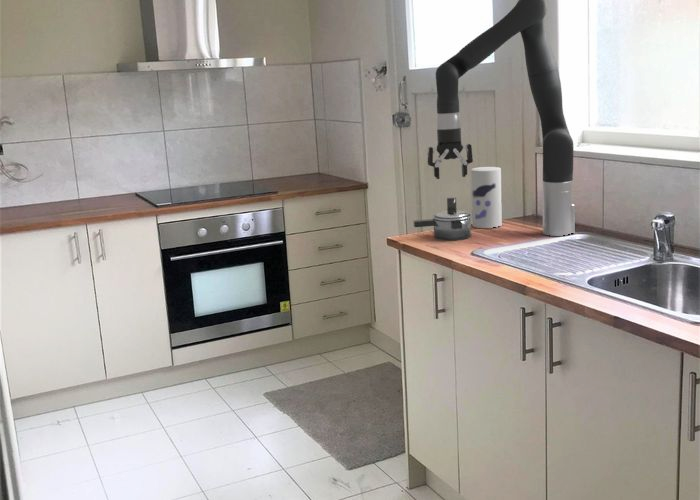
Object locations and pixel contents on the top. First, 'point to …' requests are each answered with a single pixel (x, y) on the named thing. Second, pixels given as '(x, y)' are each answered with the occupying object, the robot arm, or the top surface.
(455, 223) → the pot
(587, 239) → the top surface
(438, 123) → the robot arm
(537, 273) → the top surface
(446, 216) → the lid
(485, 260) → the top surface
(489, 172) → the container
